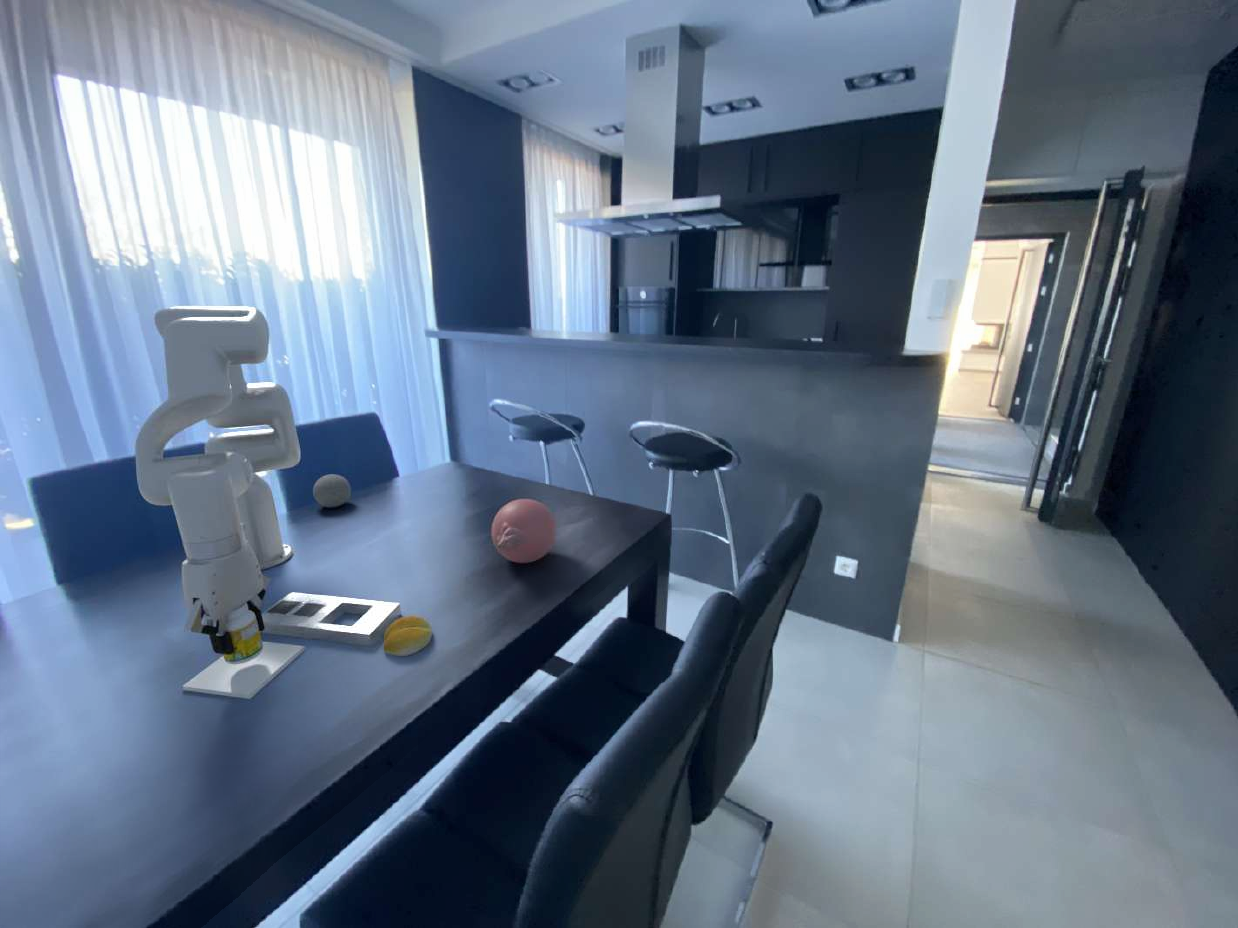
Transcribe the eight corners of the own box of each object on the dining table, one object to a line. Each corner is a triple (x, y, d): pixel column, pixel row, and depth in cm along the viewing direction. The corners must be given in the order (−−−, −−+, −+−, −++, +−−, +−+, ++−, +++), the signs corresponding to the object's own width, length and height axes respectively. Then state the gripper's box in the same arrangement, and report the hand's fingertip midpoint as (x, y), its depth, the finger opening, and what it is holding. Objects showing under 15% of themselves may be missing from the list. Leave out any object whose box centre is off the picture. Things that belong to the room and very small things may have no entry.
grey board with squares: (254, 632, 96) (251, 620, 95) (293, 602, 106) (291, 591, 105) (371, 645, 93) (369, 633, 92) (401, 613, 102) (399, 602, 102)
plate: (183, 689, 82) (182, 685, 82) (245, 642, 93) (244, 639, 93) (249, 698, 80) (248, 694, 80) (304, 649, 92) (304, 646, 91)
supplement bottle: (271, 648, 88) (259, 600, 85) (240, 668, 83) (227, 618, 80) (247, 641, 89) (236, 594, 86) (216, 661, 84) (202, 611, 81)
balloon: (469, 577, 116) (463, 516, 111) (514, 540, 134) (511, 486, 129) (528, 590, 111) (525, 526, 107) (567, 550, 129) (566, 494, 125)
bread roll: (383, 663, 89) (380, 643, 88) (386, 632, 97) (383, 615, 96) (433, 652, 92) (430, 633, 91) (431, 624, 100) (429, 606, 98)
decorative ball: (360, 501, 158) (355, 471, 155) (336, 514, 148) (331, 482, 145) (333, 498, 160) (328, 468, 157) (308, 510, 151) (302, 479, 148)
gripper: (240, 519, 88) (261, 609, 94) (138, 568, 72) (171, 673, 77) (279, 522, 87) (298, 613, 93) (184, 573, 71) (214, 679, 76)
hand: (240, 639), depth 85 cm, fingers closed on supplement bottle, 5 cm apart
